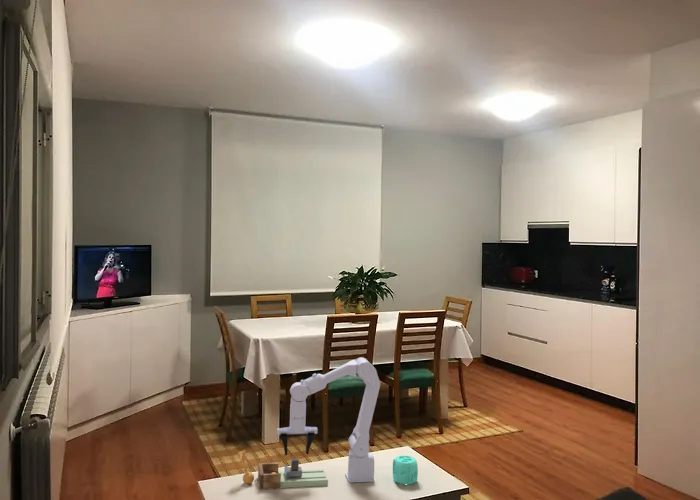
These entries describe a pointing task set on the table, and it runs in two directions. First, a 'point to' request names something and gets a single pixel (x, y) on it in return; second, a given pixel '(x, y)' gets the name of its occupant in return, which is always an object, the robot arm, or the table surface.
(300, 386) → the robot arm
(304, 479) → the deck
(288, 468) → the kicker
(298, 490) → the table surface
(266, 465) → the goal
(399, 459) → the decorative dice
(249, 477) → the figurine
